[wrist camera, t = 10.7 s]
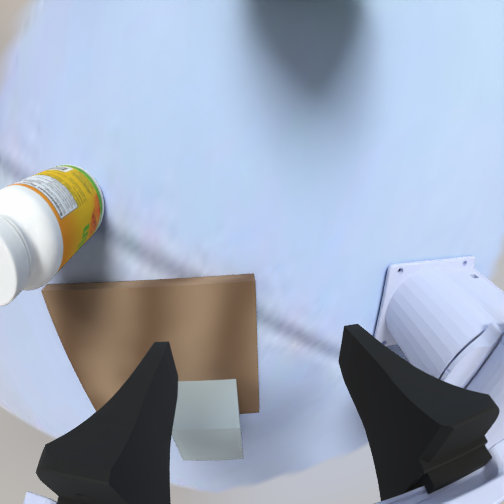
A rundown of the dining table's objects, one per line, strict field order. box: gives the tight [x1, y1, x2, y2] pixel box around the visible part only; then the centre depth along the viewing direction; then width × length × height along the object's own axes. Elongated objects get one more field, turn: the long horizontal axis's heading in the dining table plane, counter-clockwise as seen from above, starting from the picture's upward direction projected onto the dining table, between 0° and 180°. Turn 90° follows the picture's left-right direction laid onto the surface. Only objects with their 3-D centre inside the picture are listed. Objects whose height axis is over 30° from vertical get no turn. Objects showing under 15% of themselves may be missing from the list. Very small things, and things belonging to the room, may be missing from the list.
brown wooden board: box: [42, 274, 259, 414], centre depth 23 cm, size 16×14×1 cm
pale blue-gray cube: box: [172, 379, 243, 461], centre depth 23 cm, size 5×5×5 cm
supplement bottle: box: [0, 164, 104, 306], centre depth 14 cm, size 5×5×10 cm
